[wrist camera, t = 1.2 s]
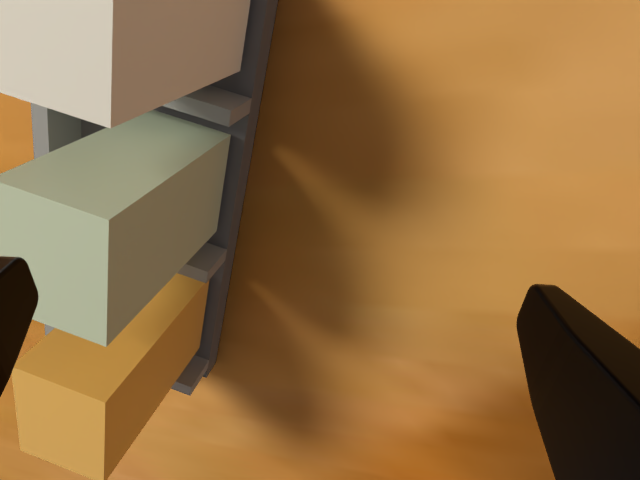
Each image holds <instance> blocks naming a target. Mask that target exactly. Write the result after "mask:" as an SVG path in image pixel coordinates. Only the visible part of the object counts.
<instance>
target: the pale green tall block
mask: <svg viewBox="0 0 640 480" xmlns="http://www.w3.org/2000/svg"><path fill="white" fill-rule="evenodd" d="M230 137H231V135H230V134H227V133H224V132H221V131H218V130H215V129H212V128H208V127H205V126H202V125H199V124H196V123H193V122H190V121H186V120H183V119H180V118H177V117H174V116H171V115H168V114H165V113H161V112H158V111H155V110H151V111H149V112H147V113H144V114H142V115H140V116H138V117H135V118H133V119H131V120H129V121H126V122H124V123H122V124H120V125H117V126H115V127H113V128H111V129H110V128H105V129H102V130H100V131H98V132H95V133H93V134H91V135H89V136H86V137H84V138H82V139H79V140H77V141H75V142H72V143H70V144H68V145H66V146H63V147H61V148H59V149H56V150H54V151H52V152H50V153H47V154H45V155H43V156H40V157H38V158H36V159H34V160H31V161H29V162H27V163H24V164H22V165H20V166H18V167H15V168H13V169H11V170H8V171H6V172H4V173H1V174H0V256H9V257H21V258H23V259H24V260H25V261H26V262H27V264H28V266H29V269H30V271H31V274H32V277H33V279H34V282H35V285H36V288H37V290H38V304H37V307H36V310H35V313H34V315H33V318H32V319H33V320H35V321H38V322H41V323H43V324H46V325H49V326H51V327H54V328H57V329H59V330H62V331H65V332H67V333H70V334H73V335H75V336H78V337H81V338H83V339H86V340H89V341H91V342H94V343H97V344H100V345H102V346H105V347H107V346H108V345H109V344H110V343H111V342H112V341H113V340H114V339H115V337H116V336H117V335H118V334H119V333H120V332H121V331H122V330H123V329H124V328H125V327H126V326H127V325H128V324H129V323H130V322H131V321H132V320H133V319H134V318H135V316H136V315H137V314H138V313H139V312H140V311H141V310H142V309H143V308H144V307H145V306H146V305H147V304H148V303H149V302H150V301H151V300H152V299H153V298H154V296H155V295H156V294H157V293H158V292H159V291H160V290H161V289H162V288H163V287H164V286H165V285H166V284H167V283H168V282H169V281H170V280H171V279H172V278H173V277H174V275H175V274H176V273H177V272H178V271H179V270H180V269H181V268H182V267H183V266H184V265H185V264H186V263H187V262H188V261H189V260H190V259H191V258H192V257H193V256H194V254H195V253H196V252H197V251H198V250H199V249H200V248H201V247H202V246H203V245H204V244H205V243H206V242H207V241H208V240H209V239H210V238H211V237H212V236H213V234H214V233H215V232H216V231H217V226H218V219H219V212H220V205H221V198H222V192H223V185H224V178H225V171H226V164H227V158H228V151H229V144H230Z"/></svg>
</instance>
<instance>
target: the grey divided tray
mask: <svg viewBox="0 0 640 480" xmlns="http://www.w3.org/2000/svg"><path fill="white" fill-rule="evenodd" d="M277 4H278V0H250V7H249V14H248V21H247V28H246V34H245V41H244V48H243V55H242V62H241V68H240V71H239V72H237V73H235V74H232V75H230V76H228V77H225V78H223V79H221V80H219V81H216V82H214V83H212V84H210V85H207V86H205V87H203V88H201V89H198V90H196V91H194V92H192V93H189V94H187V95H185V96H183V97H180V98H178V99H176V100H174V101H171V102H169V103H167V104H165V105H162V106H160V107H158V108H156V109H153V110H155V111H158V112H161V113H165V114H168V115H171V116H174V117H177V118H180V119H183V120H186V121H190V122H193V123H196V124H199V125H202V126H205V127H208V128H212V129H215V130H218V131H221V132H224V133H227V134H230V135H231V137H230V144H229V151H228V158H227V164H226V171H225V178H224V185H223V192H222V198H221V205H220V212H219V219H218V226H217V231H216V232H215V233H214V234H213V236H212V237H211V238H210V239H209V240H208V241H207V242H206V243H205V244H204V245H203V246H202V247H201V248H200V249H199V250H198V251H197V252H196V253H195V254H194V256H193V257H192V258H191V259H190V260H189V261H188V262H187V263H186V264H185V265H184V266H183V267H182V268H181V269H180V270H179V271H178V272H177V273H178V274H181V275H184V276H187V277H190V278H193V279H195V280H198V281H201V282H204V283H207V282H208V281H209V287H208V293H207V300H206V307H205V314H204V321H203V327H202V334H201V341H200V348H199V349H198V350H197V352H196V353H195V355H194V356H193V358H192V359H191V360H190V362H189V363H188V365H187V366H186V368H185V369H184V370H183V372H182V373H181V375H180V376H179V377H178V379H177V380H176V382H175V383H174V385H173V386H172V387H171V389H174V390H177V391H179V392H182V393H184V394H187V395H191V394H192V392H193V391H194V389H195V387H196V386H197V384H198V383H199V381H200V380H201V378H202V377H207V376H208V374H209V373H210V371H211V369H212V368H213V366H214V365H215V363H216V358H217V352H218V346H219V341H220V335H221V329H222V323H223V317H224V312H225V306H226V300H227V294H228V288H229V283H230V277H231V271H232V265H233V259H234V254H235V248H236V242H237V236H238V230H239V225H240V219H241V213H242V207H243V201H244V196H245V190H246V184H247V178H248V172H249V167H250V161H251V155H252V149H253V144H254V138H255V132H256V126H257V120H258V115H259V109H260V103H261V97H262V91H263V86H264V80H265V74H266V68H267V62H268V57H269V51H270V45H271V39H272V33H273V28H274V22H275V16H276V10H277ZM31 114H32V130H33V146H34V159H36V158H38V157H40V156H43V155H45V154H47V153H50V152H52V151H54V150H56V149H59V148H61V147H63V146H66V145H68V144H70V143H72V142H75V141H77V140H79V139H82V138H84V137H86V136H89V135H91V134H93V133H95V132H98V131H100V130H102V129H105V128H107V127H104V126H101V125H98V124H95V123H92V122H89V121H86V120H83V119H80V118H77V117H74V116H71V115H68V114H64V113H61V112H58V111H55V110H52V109H49V108H46V107H43V106H40V105H37V104H34V103H31ZM53 329H54V327H51V326H49V325H46V324H45V336H46V335H47V334H48V333H50V332H51V331H52V330H53Z"/></svg>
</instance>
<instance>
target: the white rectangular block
mask: <svg viewBox="0 0 640 480" xmlns="http://www.w3.org/2000/svg"><path fill="white" fill-rule="evenodd" d="M249 7H250V0H0V93H3V94H6V95H9V96H12V97H15V98H19V99H22V100H25V101H28V102H31V103H34V104H37V105H40V106H43V107H46V108H49V109H52V110H55V111H58V112H61V113H64V114H68V115H71V116H74V117H77V118H80V119H83V120H86V121H89V122H92V123H95V124H98V125H101V126H104V127H107V128H110V129H111V128H113V127H115V126H117V125H120V124H122V123H124V122H126V121H129V120H131V119H133V118H135V117H138V116H140V115H142V114H144V113H147V112H149V111H151V110H153V109H156V108H158V107H160V106H162V105H165V104H167V103H169V102H171V101H174V100H176V99H178V98H180V97H183V96H185V95H187V94H189V93H192V92H194V91H196V90H198V89H201V88H203V87H205V86H207V85H210V84H212V83H214V82H216V81H219V80H221V79H223V78H225V77H228V76H230V75H232V74H235V73H237V72H239V71H240V68H241V62H242V55H243V48H244V41H245V34H246V28H247V21H248V14H249Z"/></svg>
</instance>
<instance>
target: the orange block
mask: <svg viewBox="0 0 640 480" xmlns="http://www.w3.org/2000/svg"><path fill="white" fill-rule="evenodd" d="M208 287H209V281H208V282H207V283H204V282H201V281H198V280H195V279H193V278H190V277H187V276H184V275H181V274H178V273H176V274H175V275H174V277H173V278H172V279H171V280H170V281H169V282H168V283H167V284H166V285H165V286H164V287H163V288H162V289H161V290H160V291H159V292H158V293H157V294H156V295H155V296H154V298H153V299H152V300H151V301H150V302H149V303H148V304H147V305H146V306H145V307H144V308H143V309H142V310H141V311H140V312H139V313H138V314H137V315H136V316H135V318H134V319H133V320H132V321H131V322H130V323H129V324H128V325H127V326H126V327H125V328H124V329H123V330H122V331H121V332H120V333H119V334H118V335H117V336H116V337H115V339H114V340H113V341H112V342H111V343H110V344H109V345H108V346H107V347H105V346H102V345H100V344H97V343H94V342H91V341H89V340H86V339H83V338H81V337H78V336H75V335H73V334H70V333H67V332H65V331H62V330H59V329H57V328H54V329H53V330H52V331H51V332H50V333H48V334H47V335H46V336H45V337H44V338H43V339H42V340H40V341H39V342H38V343H37V344H36V345H35V346H34V347H32V348H31V349H30V350H29V351H28V352H27V353H25V354H24V355H23V356H22V357H21V358H20V359H19V360H17V361H16V363H15V366H14V368H13V371H12V381H13V390H14V399H15V407H16V416H17V425H18V434H19V443H20V450H21V451H23V452H26V453H28V454H31V455H33V456H35V457H38V458H40V459H43V460H45V461H48V462H50V463H53V464H55V465H58V466H60V467H63V468H65V469H68V470H70V471H73V472H75V473H78V474H80V475H83V476H85V477H87V478H90V479H92V480H107V479H108V477H109V476H110V474H111V473H112V471H113V470H114V469H115V467H116V466H117V464H118V463H119V462H120V460H121V459H122V457H123V456H124V454H125V453H126V452H127V450H128V449H129V447H130V446H131V444H132V443H133V442H134V440H135V439H136V437H137V436H138V434H139V433H140V432H141V430H142V429H143V427H144V426H145V424H146V423H147V422H148V420H149V419H150V417H151V416H152V415H153V413H154V412H155V410H156V409H157V407H158V406H159V405H160V403H161V402H162V400H163V399H164V397H165V396H166V395H167V393H168V392H169V390H170V389H171V387H172V386H173V385H174V383H175V382H176V380H177V379H178V377H179V376H180V375H181V373H182V372H183V370H184V369H185V368H186V366H187V365H188V363H189V362H190V360H191V359H192V358H193V356H194V355H195V353H196V352H197V350H198V349H199V348H200V341H201V334H202V327H203V321H204V314H205V307H206V300H207V293H208Z"/></svg>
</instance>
